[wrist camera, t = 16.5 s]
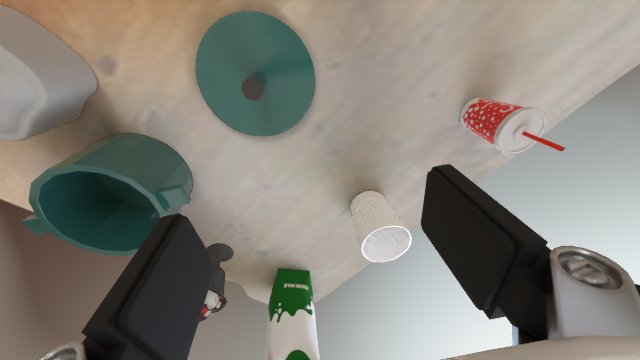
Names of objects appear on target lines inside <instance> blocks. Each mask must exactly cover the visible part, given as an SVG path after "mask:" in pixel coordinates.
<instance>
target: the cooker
mask: <svg viewBox="0 0 640 360" xmlns="http://www.w3.org/2000/svg"><path fill="white" fill-rule="evenodd" d="M192 187H193V179H192V174H191V171H190V169H189V167H188V165H187V164H186V162H185V161H184V159H183V158H182V157H181V156H180V155H179V154H178V153H177V152H176V151H175V150H173V149H172V148H171V147H169V146H168V145H166V144H164V143H163V142H161V141H159V140H156V139H154V138H151V137H148V136H145V135H140V134H132V133H122V134H116V135H112V136H109V137H105V138H103V139H101V140H99V141H97V142H96V143H94V144H92V145H90V146H88V147H87V148H85V149H83V150H81V151H80V152H78V153H76V154H74V155H72V156H71V157H69V158H67V159H65V160H63V161H62V162H60V163H58V164H56V165H54V166H53V167H51V168H49V169H47V170H46V171H45V172H44V173H42V174H41V175H40V176H39V177H38V178H36V179H35V180H34V181H33V182H32V183H31V188H30V195H29V202H30V204H31V206H32V208H33V210H34V212H35V214H36V215H32V216H29V217H27V218H26V219H25V220H23V221H22V222H23V223H24V224H25V225H27V226H28V227H29V228H30V229H31V230H32V231H34V232H35V233H36V234H37V235H42V234H46V233H53V234H55V235H56V236H57V237H59V238H61V239H63V240H65V241H67V242H69V243H71V244H73V245H74V246H76V247H78V248H82V249H86V250H89V251H93V252H97V253H101V254H105V255H124V256H127V255H132V254H136V252H137V251H138V249H139V248H140V247H141V245H142V244H143V242H144V241H145V239H146V238H147V236H148V235H149V234H150V232H151V231H152V229H153V228H154V226H155V225H156V223H157V222H158V221H159V219H160V218H161V217H163V216H167V215H172V214H179V213H180V211H181V209H182V208H183V206H184V205H185V204H189V203H190V201H191V197H190V194H191V191H192Z"/></svg>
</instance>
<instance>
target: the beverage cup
mask: <svg viewBox="0 0 640 360" xmlns="http://www.w3.org/2000/svg"><path fill="white" fill-rule="evenodd" d="M460 122H461V124H462V125H464V126H465V127H467V128H468V129H470V130H471V131H473V132H475V133H476V134H478V135H479V136H481V137H483V138H484V139H486V140H487V141H489V142H490V143H492V144H494V145H495V147H496V149H498V150H499V151H501V152H503V153H505V154H507V155H511V154H518V153H520V152H523V151H525V150H527V149H528V148H530V147H531V146H533V145H534V144H535V143H536V142H537V141H538V142H540V143H542V144H545V145H547V146H550V147H552V148H554V149H557V150H559V151H563V150H564V147H562V146H559V145H557V144H555V143H552V142H550V141H547V140H545V139H542V138H540V137H541V136H542V134H543V132H544V130H545V129H546V125H547V116H546V113H545V112H544V111H542V110H541V109H539V108H534V107H521V106H517V105H512V104H508V103H503V102H499V101H494V100H490V99H485V98H475V99H472V100H470V101H469V102H468V103H467V104H465V106H464V107H463V109H462V110H461V113H460Z"/></svg>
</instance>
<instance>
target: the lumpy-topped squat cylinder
mask: <svg viewBox="0 0 640 360" xmlns="http://www.w3.org/2000/svg"><path fill="white" fill-rule="evenodd" d="M96 88H97V79H96V76H95V74H94V72H93V70H92V69H91V67H90V66H89V64H88V63H87V62H86V61H85V60H84V59H83V58H82V57H81V56H80V55H79V54H78V53H77V52H75V51H74V50H73V49H72V48H70V47H69V46H68V45H67V44H66V43H64V42H63V41H62V40H61V39H59V38H58V37H57V36H55V35H54V34H53V33H51V32H50V31H49V30H47V29H46V28H44V27H43V26H41V25H40V24H38V23H37V22H35V21H34V20H32V19H31V18H29V17H28V16H26V15H24V14H23V13H21V12H19V11H17V10H14V9H12V8H9V7H6V6H3V5H0V140H3V141H20V140H25V139H27V138H30V137H32V136H35V135H38V134H40V133H43V132H46V131H48V130H51V129H53V128H56V127H58V126H61V125H63V124H66V123H68V122H71V121H73V120H76V119H77V118H78V117H79V116H80V114H81V112H82V108H83V105H84V103H85V102H86V100H87V99H88V98H89V97H90V96H91V95H92V94H93V93H94V92H95V90H96Z"/></svg>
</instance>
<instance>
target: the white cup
mask: <svg viewBox="0 0 640 360" xmlns="http://www.w3.org/2000/svg"><path fill="white" fill-rule="evenodd" d="M350 208H351V213H352V216H353V222H354V227H355V230H356V234H357V237H358V241H359V244H360V248H361V251H362V254H363V256H364V257H365V258H366V259H368V260H370V261H374V262H386V261H390V260H393V259H395V258H397V257H399V256H401V255H402V254H403V253H404V252H405V251H406V250H407V249H408V248H409V246H410V244H411V234H410V232H409V231H408V229H407V228H406V226H405V225H404V223H403V222H402V221H401V219H400V218H399V216H398V215H397V213H396V212H395V211H394V209H393V208H392V207H391V205H390V204H389V203H388V202H387V201H386V199H385V198H384V197H383V195H382V194H381V193H379V192H376V191H365V192H363V193H361V194H359V195H357V196H356V197H355V198H354V199H353V201H352V203H351V206H350Z"/></svg>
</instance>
